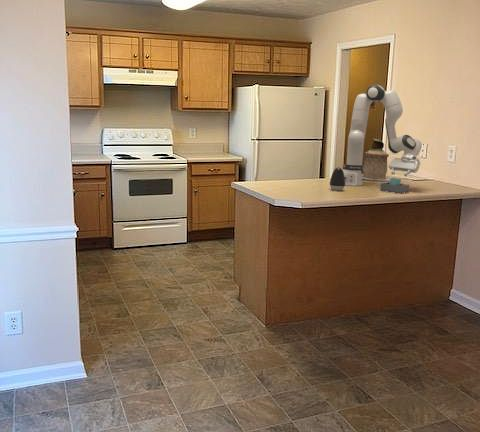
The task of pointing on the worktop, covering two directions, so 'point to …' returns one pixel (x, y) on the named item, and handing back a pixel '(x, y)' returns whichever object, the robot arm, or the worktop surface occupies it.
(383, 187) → the charcoal crate
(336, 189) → the black tapered dome
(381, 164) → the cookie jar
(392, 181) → the teal crate
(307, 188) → the worktop surface
